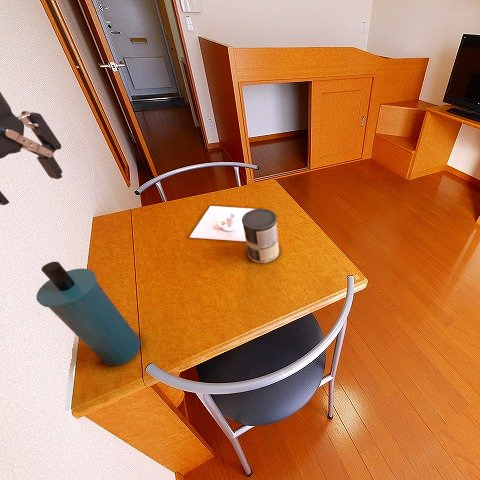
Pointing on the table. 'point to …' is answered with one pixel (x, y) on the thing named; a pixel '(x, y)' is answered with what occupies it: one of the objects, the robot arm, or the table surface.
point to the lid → (64, 285)
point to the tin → (100, 327)
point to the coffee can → (261, 235)
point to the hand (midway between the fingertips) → (31, 189)
